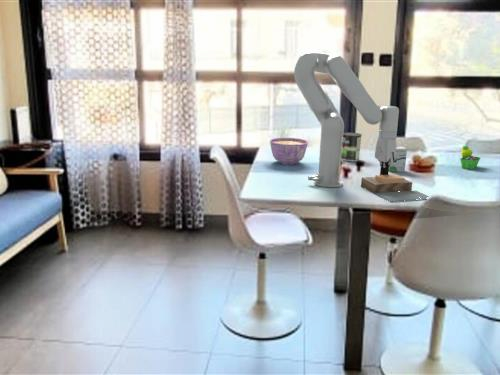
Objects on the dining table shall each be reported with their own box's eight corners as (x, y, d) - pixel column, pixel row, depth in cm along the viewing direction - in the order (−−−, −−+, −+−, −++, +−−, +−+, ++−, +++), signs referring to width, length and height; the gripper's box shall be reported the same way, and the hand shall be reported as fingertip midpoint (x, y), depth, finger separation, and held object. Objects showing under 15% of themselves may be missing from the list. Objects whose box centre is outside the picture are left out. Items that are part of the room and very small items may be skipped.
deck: (374, 193, 220) (375, 184, 219) (360, 186, 232) (361, 177, 230) (411, 191, 225) (412, 182, 224) (396, 184, 237) (397, 175, 235)
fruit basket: (473, 170, 267) (477, 149, 264) (456, 167, 272) (459, 146, 269) (479, 166, 275) (482, 145, 272) (462, 164, 281) (465, 143, 278)
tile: (383, 183, 221) (383, 179, 220) (375, 179, 227) (375, 175, 227) (404, 182, 224) (404, 178, 223) (395, 178, 230) (395, 174, 230)
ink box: (389, 171, 259) (391, 148, 256) (384, 169, 264) (387, 146, 261) (405, 171, 261) (407, 148, 258) (400, 169, 266) (403, 146, 263)
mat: (390, 202, 209) (390, 201, 209) (375, 193, 220) (375, 193, 220) (432, 199, 215) (433, 198, 214) (416, 191, 226) (416, 190, 225)
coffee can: (347, 162, 279) (349, 136, 275) (336, 158, 288) (338, 132, 284) (363, 160, 283) (365, 135, 279) (352, 156, 292) (354, 131, 288)
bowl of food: (308, 167, 263) (310, 145, 260) (269, 166, 264) (270, 144, 261) (305, 159, 283) (306, 138, 280) (268, 158, 283) (269, 137, 280)
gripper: (371, 132, 231) (367, 172, 236) (389, 138, 217) (385, 180, 222) (385, 131, 233) (382, 171, 238) (405, 137, 219) (400, 179, 224)
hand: (384, 175), depth 230 cm, fingers closed
